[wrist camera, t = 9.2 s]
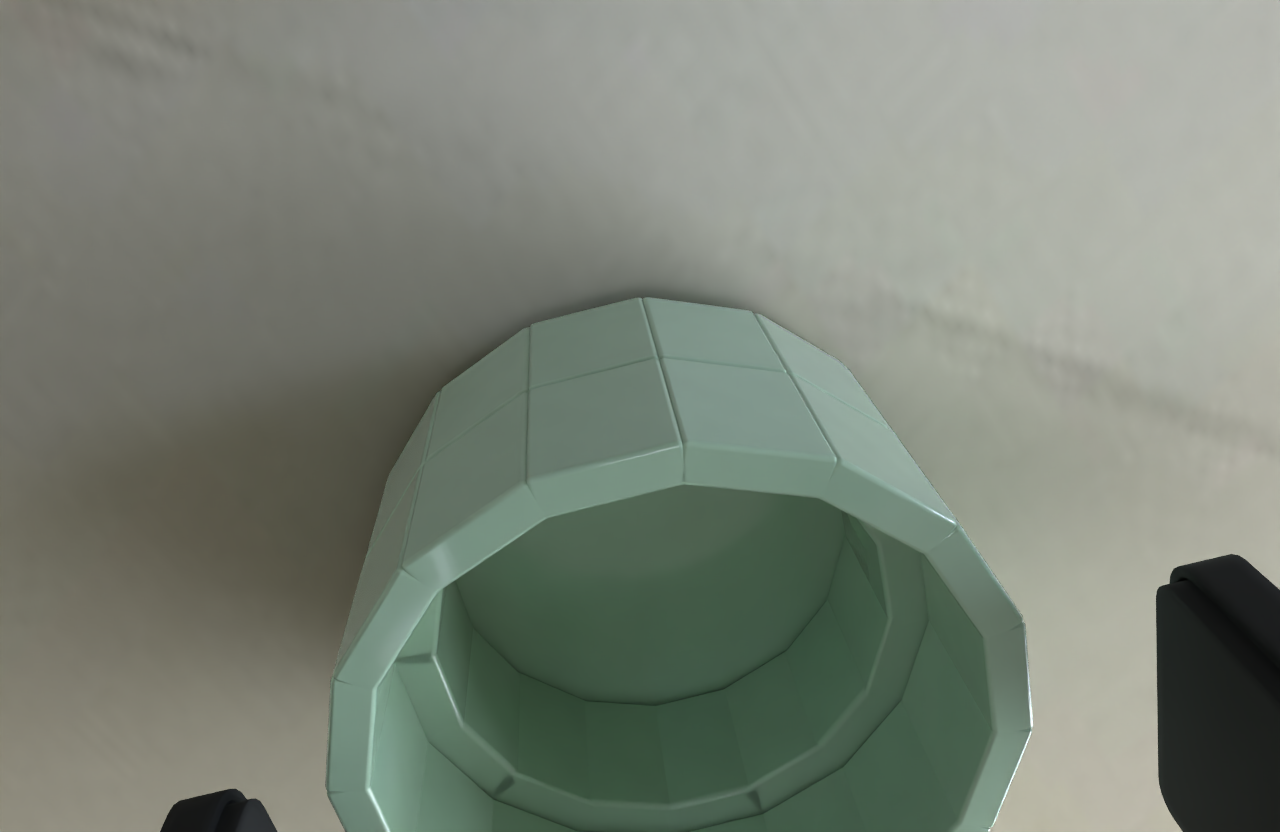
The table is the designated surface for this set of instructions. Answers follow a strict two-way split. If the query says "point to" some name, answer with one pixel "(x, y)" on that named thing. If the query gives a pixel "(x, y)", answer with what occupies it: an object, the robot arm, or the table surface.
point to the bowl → (670, 601)
